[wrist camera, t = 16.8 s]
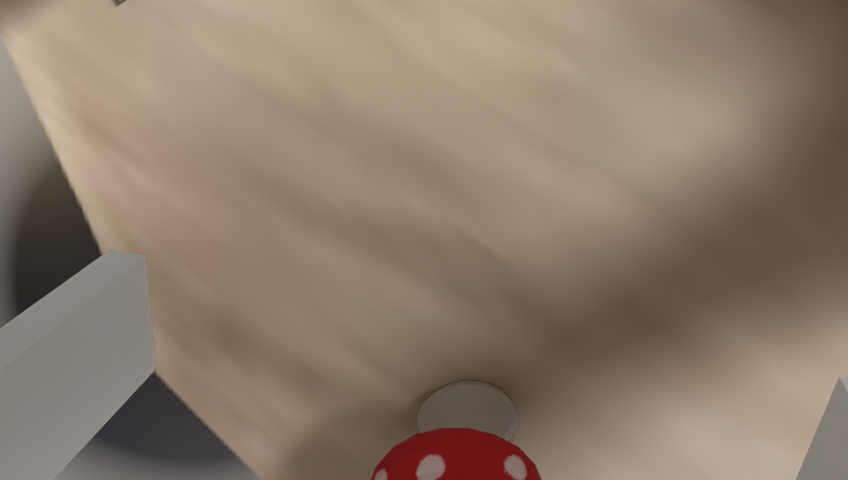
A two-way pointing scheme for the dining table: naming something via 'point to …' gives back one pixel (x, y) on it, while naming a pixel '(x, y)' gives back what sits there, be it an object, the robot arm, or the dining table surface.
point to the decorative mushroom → (461, 439)
